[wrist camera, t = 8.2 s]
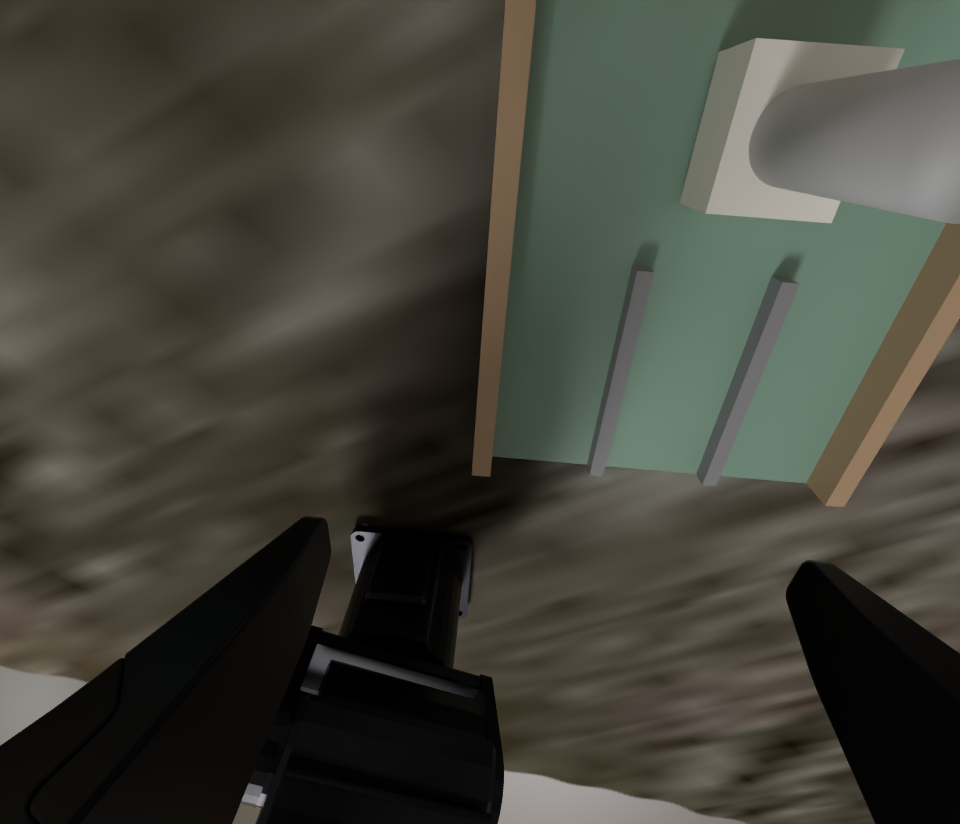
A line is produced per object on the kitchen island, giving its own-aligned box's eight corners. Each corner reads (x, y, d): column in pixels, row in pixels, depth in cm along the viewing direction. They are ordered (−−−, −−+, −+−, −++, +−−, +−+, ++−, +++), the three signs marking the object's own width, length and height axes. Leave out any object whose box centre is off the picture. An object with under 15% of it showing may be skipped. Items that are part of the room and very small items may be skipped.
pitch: (814, 473, 22) (843, 507, 20) (475, 445, 22) (471, 475, 20) (1222, -278, 11) (1379, -369, 9) (530, -322, 11) (535, -420, 9)
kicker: (788, 211, 16) (1029, 279, 8) (679, 202, 16) (825, 263, 8) (844, 61, 14) (1228, -20, 6) (718, 51, 14) (955, -39, 6)
